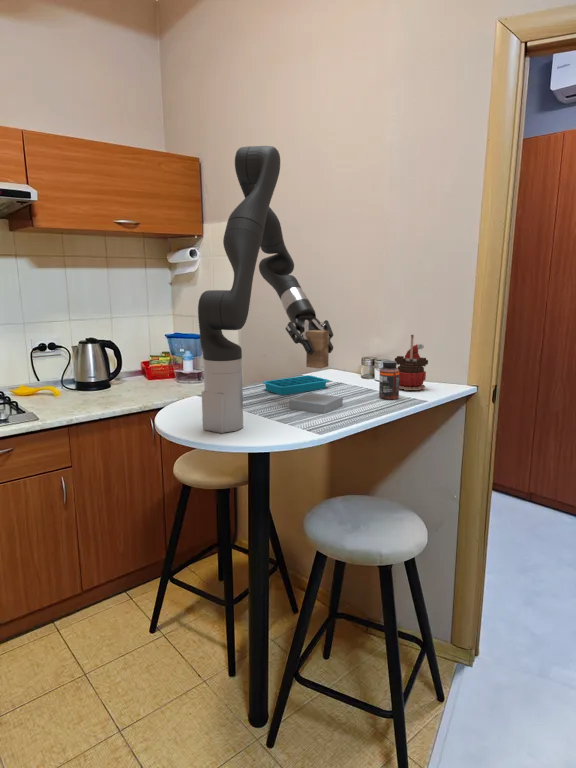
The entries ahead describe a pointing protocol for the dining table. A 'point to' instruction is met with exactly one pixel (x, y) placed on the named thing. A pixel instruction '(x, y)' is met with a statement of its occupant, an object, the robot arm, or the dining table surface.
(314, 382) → the ice cube tray
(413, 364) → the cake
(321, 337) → the walnut post
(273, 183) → the robot arm
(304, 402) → the base block
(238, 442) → the dining table surface
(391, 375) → the supplement bottle
